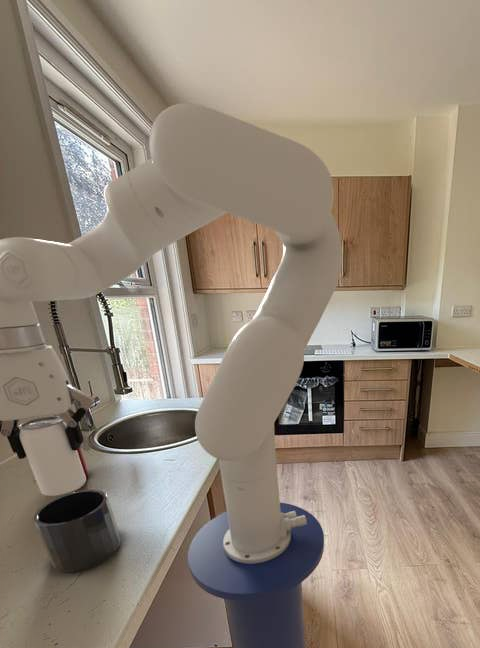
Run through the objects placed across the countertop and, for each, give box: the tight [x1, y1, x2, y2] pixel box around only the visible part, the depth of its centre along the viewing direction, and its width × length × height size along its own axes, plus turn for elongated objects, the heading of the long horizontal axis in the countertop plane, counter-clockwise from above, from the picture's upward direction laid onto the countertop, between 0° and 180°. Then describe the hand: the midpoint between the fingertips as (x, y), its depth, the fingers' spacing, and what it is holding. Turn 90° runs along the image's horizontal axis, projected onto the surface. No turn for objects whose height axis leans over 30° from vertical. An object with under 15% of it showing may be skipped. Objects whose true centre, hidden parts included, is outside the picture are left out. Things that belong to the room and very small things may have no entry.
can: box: [18, 415, 87, 498], centre depth 57 cm, size 6×6×12 cm
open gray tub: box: [33, 489, 122, 574], centre depth 63 cm, size 11×11×10 cm
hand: (51, 450), depth 57 cm, fingers closed on can, 6 cm apart
